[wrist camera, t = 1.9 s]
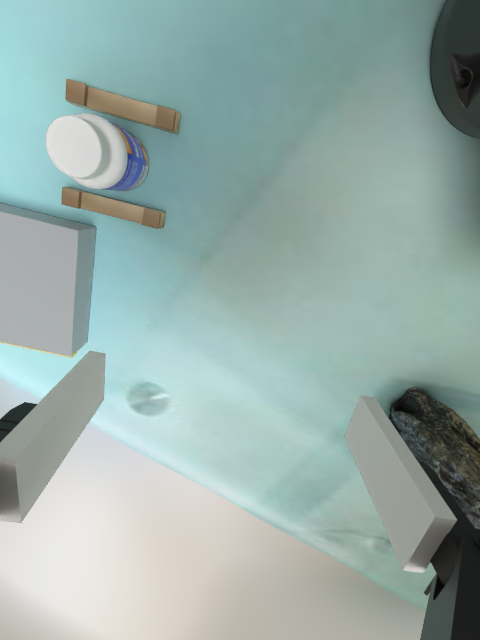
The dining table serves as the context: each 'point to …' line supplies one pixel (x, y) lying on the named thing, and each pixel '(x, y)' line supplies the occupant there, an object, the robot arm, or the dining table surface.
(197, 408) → the dining table surface
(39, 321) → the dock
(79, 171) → the pill bottle
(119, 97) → the wooden rail rack
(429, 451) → the stone block
